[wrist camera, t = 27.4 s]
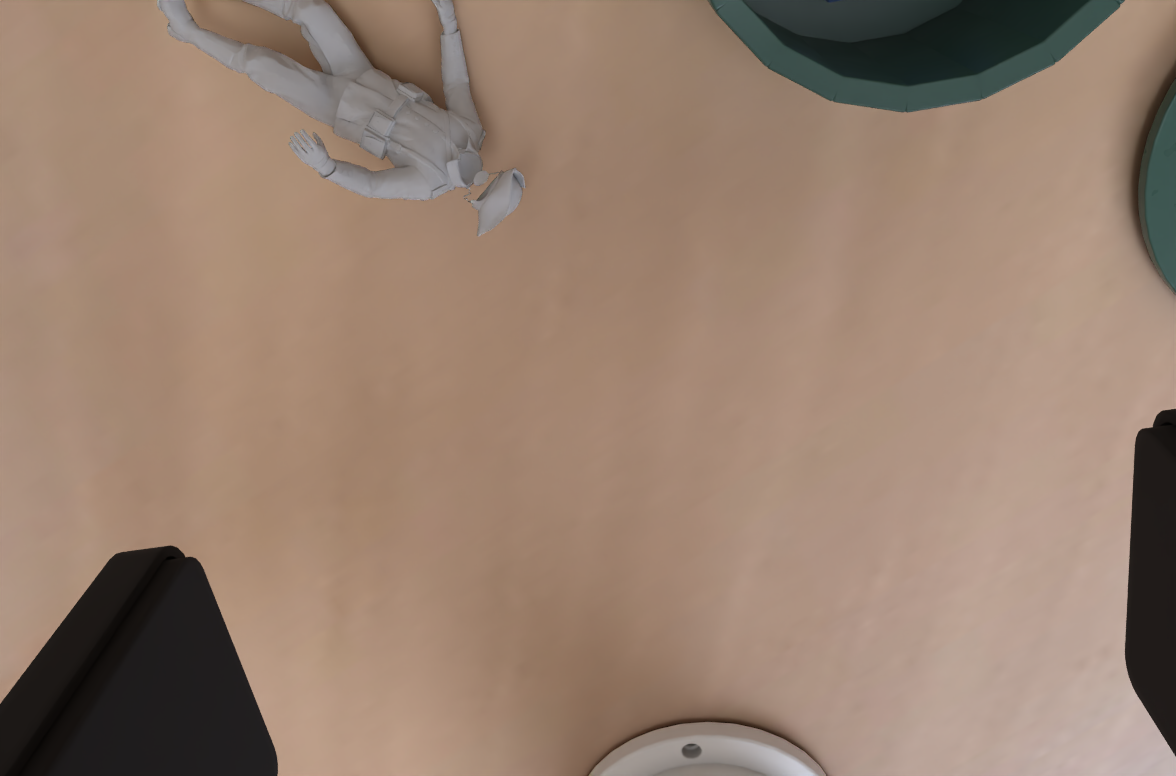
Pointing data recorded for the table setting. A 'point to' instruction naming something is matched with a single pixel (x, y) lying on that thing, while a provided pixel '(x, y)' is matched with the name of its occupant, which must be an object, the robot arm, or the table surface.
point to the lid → (1160, 190)
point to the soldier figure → (369, 108)
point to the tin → (911, 45)
